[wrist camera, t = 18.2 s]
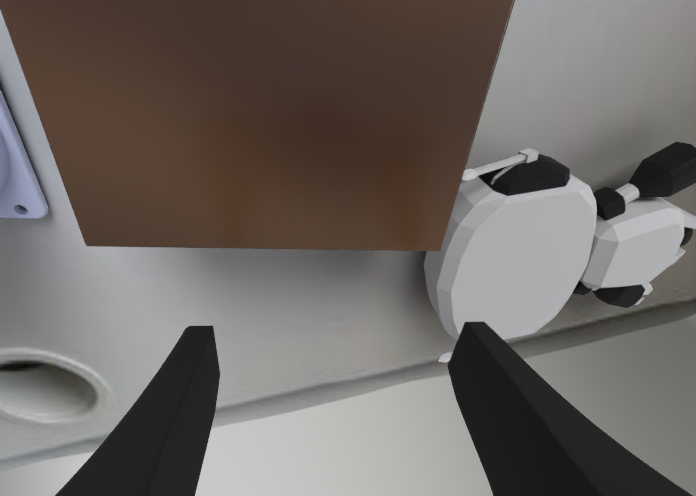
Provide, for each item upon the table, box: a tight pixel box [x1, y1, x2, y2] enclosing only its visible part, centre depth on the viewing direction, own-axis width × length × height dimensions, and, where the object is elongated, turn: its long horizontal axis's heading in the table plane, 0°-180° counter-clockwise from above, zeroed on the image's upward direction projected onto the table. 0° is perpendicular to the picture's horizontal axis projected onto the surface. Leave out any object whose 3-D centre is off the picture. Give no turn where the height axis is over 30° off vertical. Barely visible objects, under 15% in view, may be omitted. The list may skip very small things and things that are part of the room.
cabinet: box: [0, 0, 515, 251], centre depth 12 cm, size 13×11×7 cm
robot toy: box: [424, 141, 696, 363], centre depth 21 cm, size 12×4×15 cm
